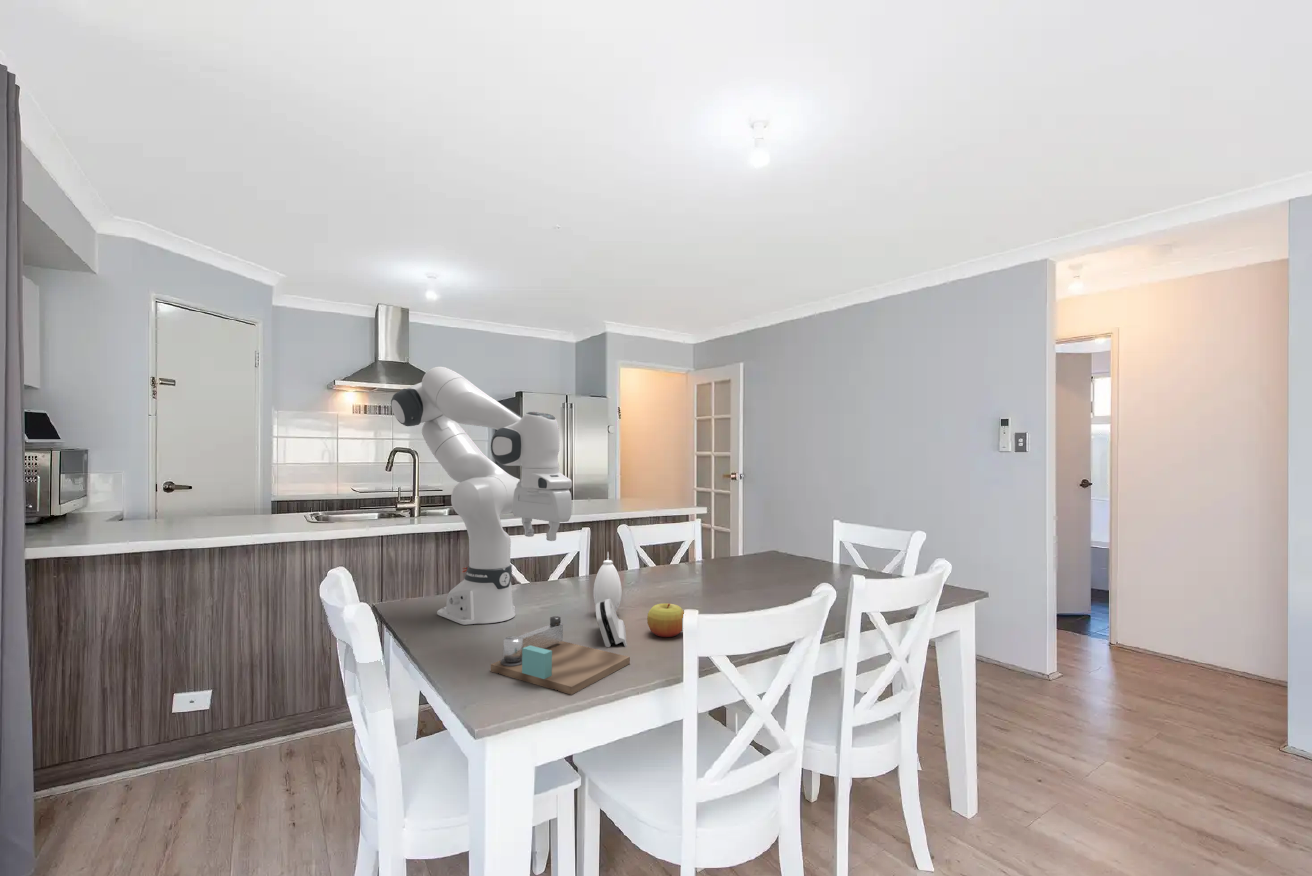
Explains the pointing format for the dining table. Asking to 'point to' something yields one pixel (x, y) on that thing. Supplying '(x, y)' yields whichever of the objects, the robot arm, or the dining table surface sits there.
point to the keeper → (537, 662)
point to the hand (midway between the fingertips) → (540, 538)
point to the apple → (665, 619)
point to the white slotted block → (610, 624)
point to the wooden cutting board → (568, 667)
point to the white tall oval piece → (607, 584)
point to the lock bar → (533, 640)
